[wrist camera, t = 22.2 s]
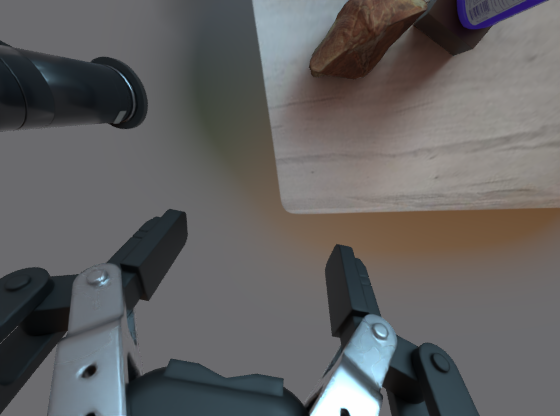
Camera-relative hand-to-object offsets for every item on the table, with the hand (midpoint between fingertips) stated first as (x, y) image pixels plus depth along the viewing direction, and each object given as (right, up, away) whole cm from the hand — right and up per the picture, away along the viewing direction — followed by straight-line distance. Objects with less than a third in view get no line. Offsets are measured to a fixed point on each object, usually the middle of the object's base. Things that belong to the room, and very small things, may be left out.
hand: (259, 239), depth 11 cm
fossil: (+12, +25, +19) cm, 33 cm away
